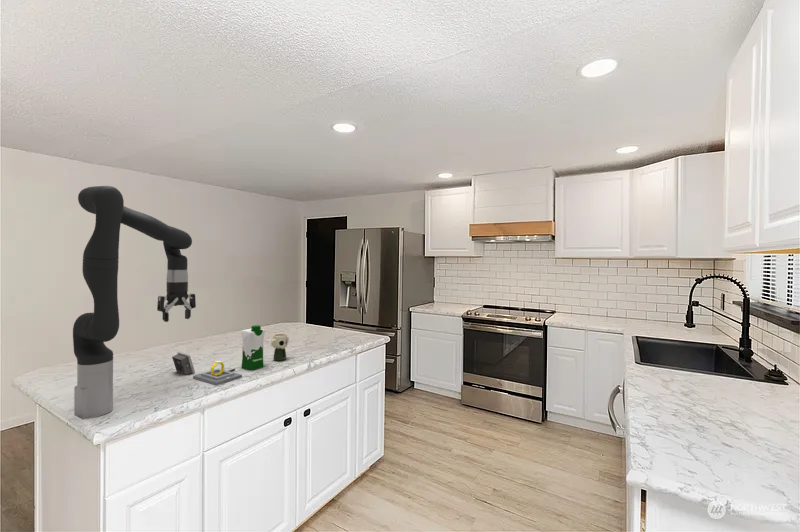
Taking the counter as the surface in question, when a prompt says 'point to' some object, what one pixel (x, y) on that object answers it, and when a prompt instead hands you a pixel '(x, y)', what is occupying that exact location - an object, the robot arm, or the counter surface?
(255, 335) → the milk carton
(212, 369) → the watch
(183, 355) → the electrical switch
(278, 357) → the character mug
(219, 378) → the charging dock
